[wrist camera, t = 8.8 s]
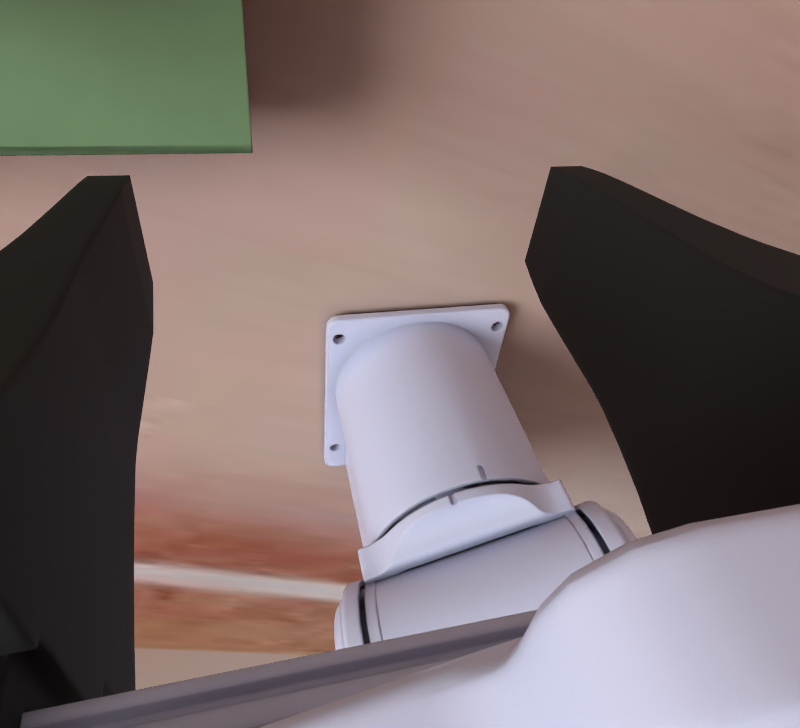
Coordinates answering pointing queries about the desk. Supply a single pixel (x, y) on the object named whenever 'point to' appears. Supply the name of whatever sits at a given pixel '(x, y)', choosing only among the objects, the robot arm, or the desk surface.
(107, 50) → the book stack
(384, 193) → the desk surface
